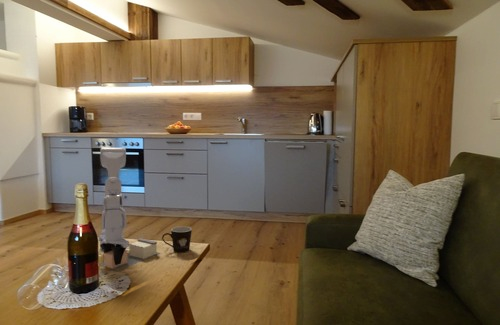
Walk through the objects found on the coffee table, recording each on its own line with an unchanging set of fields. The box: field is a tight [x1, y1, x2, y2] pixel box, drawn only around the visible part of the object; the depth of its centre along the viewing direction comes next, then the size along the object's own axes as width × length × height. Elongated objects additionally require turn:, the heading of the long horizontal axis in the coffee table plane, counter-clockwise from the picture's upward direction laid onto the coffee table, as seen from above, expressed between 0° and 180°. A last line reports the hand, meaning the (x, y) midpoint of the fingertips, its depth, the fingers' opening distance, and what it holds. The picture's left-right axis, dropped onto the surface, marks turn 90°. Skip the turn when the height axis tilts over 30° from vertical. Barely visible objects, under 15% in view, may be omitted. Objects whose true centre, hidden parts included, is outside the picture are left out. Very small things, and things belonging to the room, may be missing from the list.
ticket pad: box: [128, 237, 158, 260], centre depth 143 cm, size 9×7×5 cm
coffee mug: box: [161, 226, 193, 254], centre depth 149 cm, size 12×9×10 cm
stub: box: [104, 248, 128, 270], centre depth 132 cm, size 4×7×5 cm, turn 150°
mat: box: [98, 251, 161, 272], centre depth 138 cm, size 11×22×1 cm, turn 150°
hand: (113, 262), depth 131 cm, fingers closed on stub, 4 cm apart
